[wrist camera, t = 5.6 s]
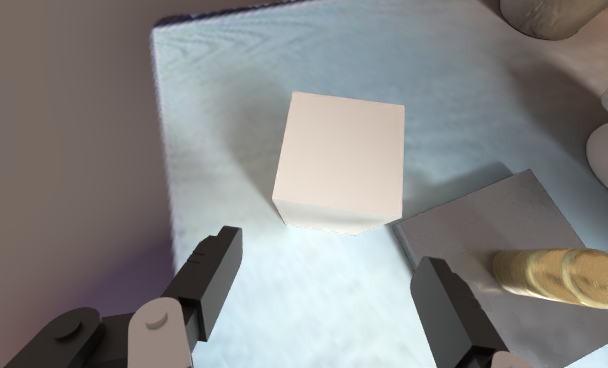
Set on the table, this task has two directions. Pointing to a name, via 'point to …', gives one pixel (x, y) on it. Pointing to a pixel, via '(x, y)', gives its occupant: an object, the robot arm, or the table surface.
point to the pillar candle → (550, 16)
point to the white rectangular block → (340, 164)
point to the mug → (599, 148)
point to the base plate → (515, 230)
